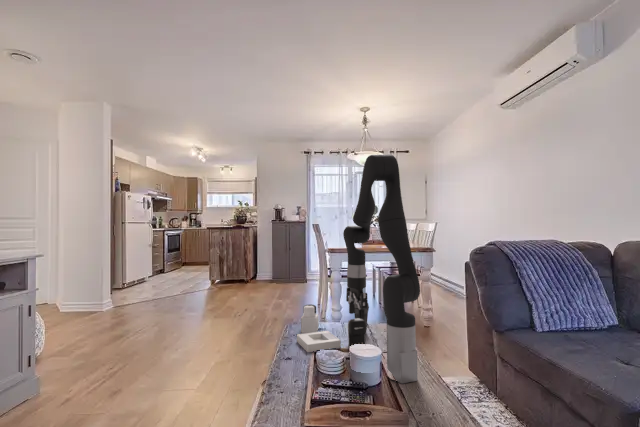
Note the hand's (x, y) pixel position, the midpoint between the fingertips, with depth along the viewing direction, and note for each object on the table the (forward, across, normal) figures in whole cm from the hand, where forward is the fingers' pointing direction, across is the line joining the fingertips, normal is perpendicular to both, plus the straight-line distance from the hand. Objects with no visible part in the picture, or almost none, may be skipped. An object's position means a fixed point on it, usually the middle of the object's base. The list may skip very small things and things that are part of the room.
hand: (356, 315), depth 149 cm
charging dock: (+13, +10, +13) cm, 21 cm away
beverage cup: (+13, +18, -11) cm, 25 cm away
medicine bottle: (+14, +29, +10) cm, 33 cm away
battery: (+13, 0, 0) cm, 13 cm away
